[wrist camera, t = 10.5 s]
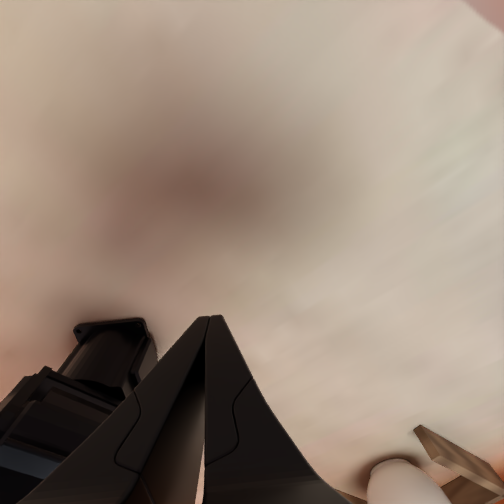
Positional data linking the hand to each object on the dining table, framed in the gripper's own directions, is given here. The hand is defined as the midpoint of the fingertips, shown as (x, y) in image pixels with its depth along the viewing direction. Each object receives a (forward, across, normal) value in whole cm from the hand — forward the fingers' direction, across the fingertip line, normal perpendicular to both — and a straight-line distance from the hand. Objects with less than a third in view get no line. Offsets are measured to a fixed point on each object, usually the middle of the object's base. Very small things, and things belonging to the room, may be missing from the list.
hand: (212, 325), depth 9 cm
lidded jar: (+13, -20, +40) cm, 47 cm away
